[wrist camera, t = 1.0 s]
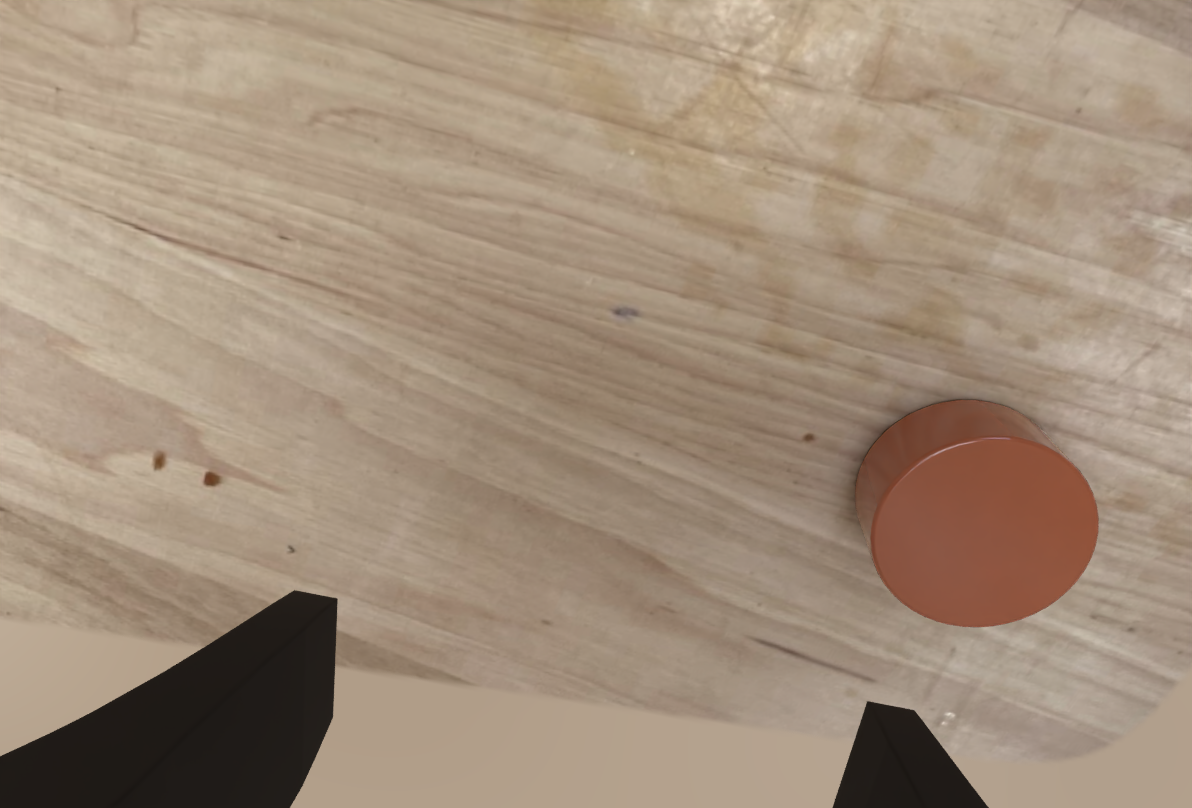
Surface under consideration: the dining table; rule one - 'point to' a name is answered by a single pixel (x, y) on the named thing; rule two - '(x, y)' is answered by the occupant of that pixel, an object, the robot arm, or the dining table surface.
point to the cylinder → (974, 514)
